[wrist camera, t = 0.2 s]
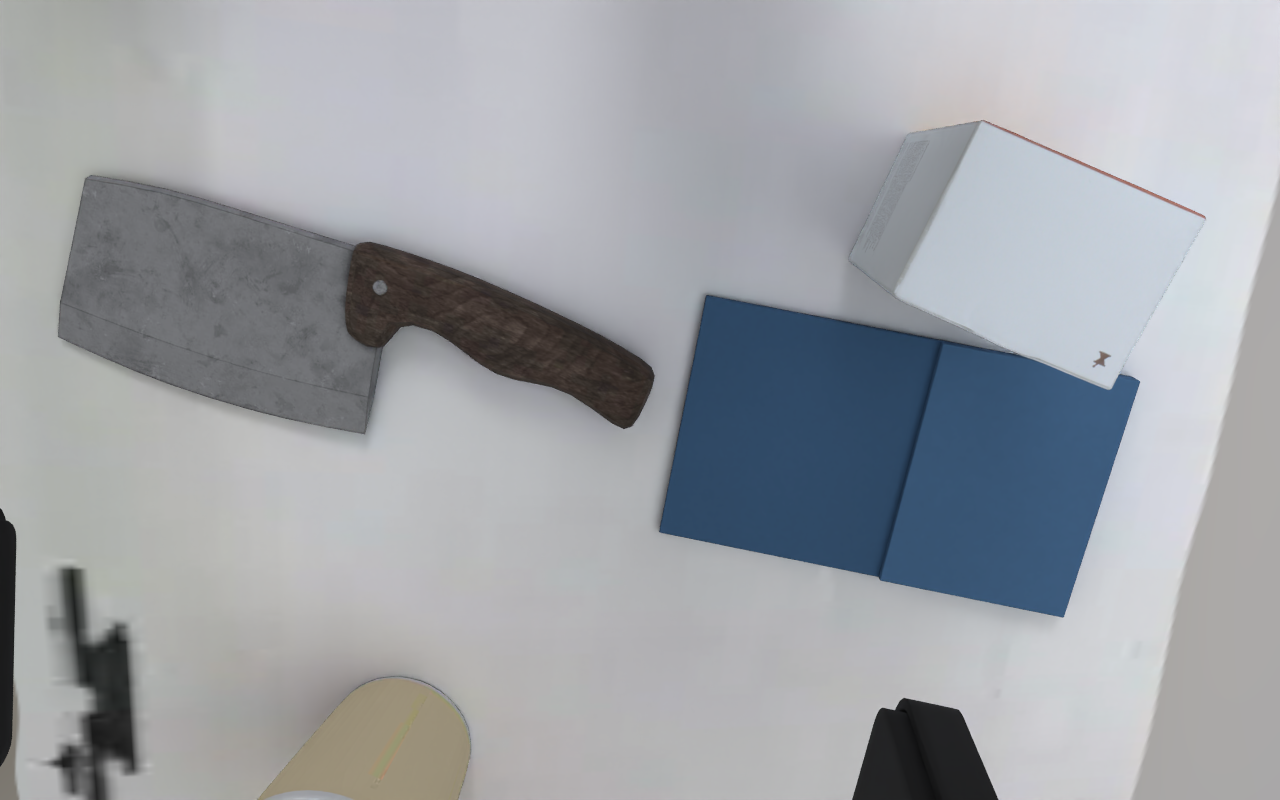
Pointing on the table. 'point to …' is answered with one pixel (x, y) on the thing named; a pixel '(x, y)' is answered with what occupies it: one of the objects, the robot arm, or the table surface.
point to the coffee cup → (382, 748)
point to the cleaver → (301, 311)
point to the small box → (1024, 246)
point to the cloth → (892, 455)
